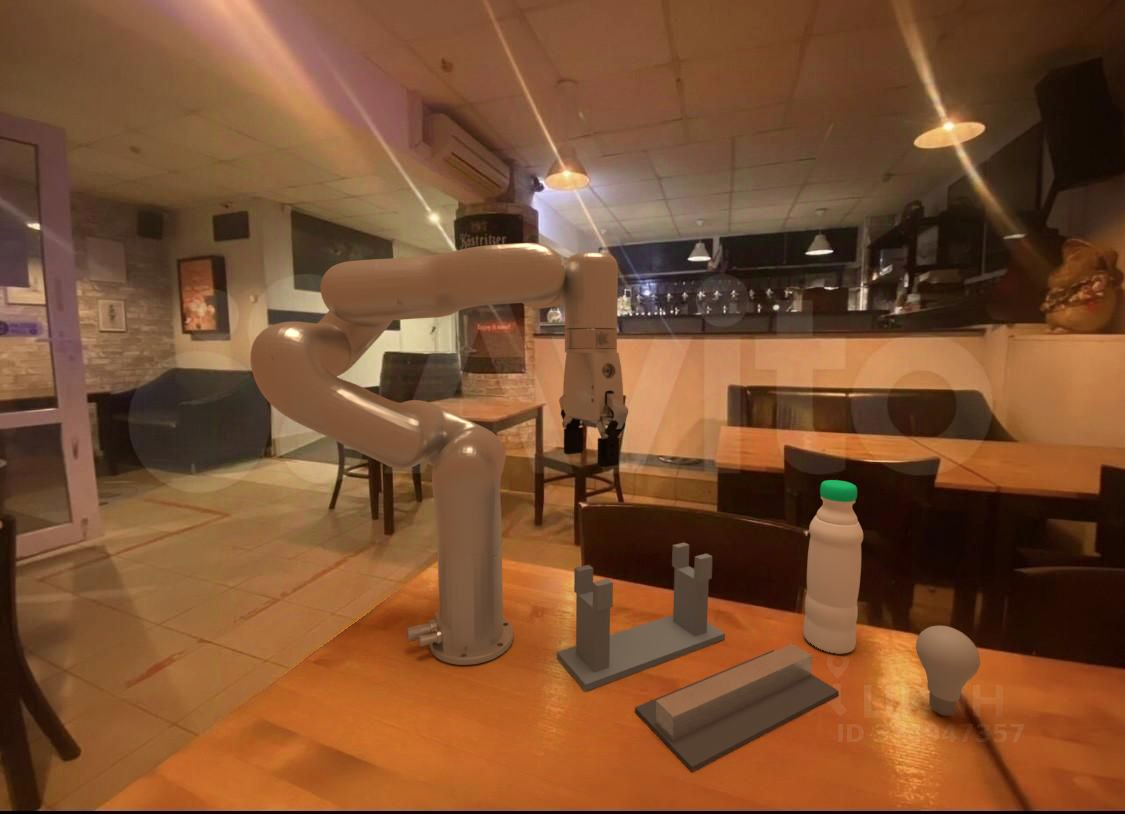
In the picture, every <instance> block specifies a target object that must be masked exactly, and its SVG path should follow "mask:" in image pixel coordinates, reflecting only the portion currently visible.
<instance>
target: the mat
mask: <svg viewBox="0 0 1125 814" xmlns="http://www.w3.org/2000/svg"><path fill="white" fill-rule="evenodd" d="M774 651H775V650H774V649H773V650H770V651H768V652H765V653H763V654H760V655H758V656H756V657H753V658H750V659H748V660H746V661H744V662H741V663H738V664H737V665H734V666H731V667H728V668H726V669H724V670H721V671H720V672H716V673H714V674H713V675H710V676H707V677H705V678H703V679H700V680H698V681H695V682H692V683H691V684H687V685H686V686H683V687H681V688H678V689H676V690H673V691H671V692H668V693H666V694H664V695H662V696H659V697H657V698H654V699H652V700H649V701H646V702H644V703H642V704H638V706H635V707H634V713H635V714H637V715H638V717H639V718H640V719H641V720H642V721H643V722H644V723H645V725H647V726H648V727H649V728H650V730H652V732H653V733H654V734H655V735H656V736H657V737H658V738H659V739H660V740H661V741H662V742H663V743H664V744H665V746H667V748H668V749H669V750H670V751H671V752H672V753H673V754H674V755H675V756H676V758H678V759H679V760H680V761H681V762H682V764H683V765H685V767H686V768H687V769H688V770H689V771H690V772H691V773H693V772H695V771H697V770H699V769H701V768H702V767H704V766H706V765H708V764H710V763H712V762H714V761H716V760H718V759H720V758H721V757H724V756H725V755H727V754H730V753H731V752H733V751H734V750H737V749H739V748H741V747H742V746H744V745H746V744H748V743H750V742H752V741H754V740H756V739H758V738H760V737H762V736H764V735H765V734H767V733H769V732H771V731H774V730H775V729H777V728H778V727H780V726H782V725H784V724H787V723H788V722H790V721H792V720H794V719H796V718H798V717H800V716H801V715H803V714H805V713H808V712H810V711H811V710H813V709H815V708H817V707H819V706H821V705H822V704H825V703H826V701H827V702H829V701H831V700H832V699H834V698H836V697H838V696H839V693H840V692H839V690H838V689H837V688H835V687H833V686H832V685H830V684H828V683H827V682H825V681H823V680H822V679H820V678H819V677H817V676H815V675H814V674H812V673H811V676H810V677H808V678H806V679H804V680H802V681H800V682H798V683H795V684H793V685H791V686H789V687H787V688H785V689H783V690H781V691H779V692H776V693H774V694H772V695H770V696H768V697H766V698H764V699H762V700H760V701H757V702H755V703H753V704H751V705H749V706H747V707H745V708H743V709H741V710H738V711H736V712H734V713H732V714H730V715H728V716H726V717H724V718H722V719H719V720H717V721H715V722H713V723H711V724H709V725H707V726H705V727H703V728H700V729H698V730H696V731H694V732H692V733H690V734H688V735H686V736H684V737H681V738H679V739H677V740H675V741H672V740H671V739H670V738H669V737H668V736H667V735H666V734H665V733H664V732H663V731H662V730H661V729H660V728H659V727H658V726H657V725H656V700H658V699H661V698H663V697H666V696H668V695H670V694H673V693H675V692H678V691H680V690H682V689H685V688H687V687H690V686H692V685H694V684H697V683H699V682H702V681H704V680H706V679H709V678H711V677H714V676H716V675H719V674H721V673H723V672H726V671H728V670H731V669H733V668H735V667H738V666H740V665H743V664H745V663H747V662H750V661H752V660H755V659H757V658H760V657H762V656H764V655H767V654H769V653H772V652H774ZM824 702H825V703H824ZM818 705H819V706H818ZM816 706H817V707H816ZM814 707H815V708H814ZM810 709H811V710H810Z"/></svg>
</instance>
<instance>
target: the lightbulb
mask: <svg viewBox="0 0 1125 814" xmlns="http://www.w3.org/2000/svg"><path fill="white" fill-rule="evenodd" d="M915 648H916V649H915V650H916V653H917V657H918V659H919V661H920V663H921V665H922V667H923V668H924V671H925V675H926V679H927V689H928V691H929V697H928V699H929V700H928V703H929V707H930V708H931V709H932V710H933V711H934V712H936V713H937V714H938V715H940V716H943V717H946V716H947V717H948V716H949V717H950V716H954V715H955V713H956V709H957V702H958V701H959V700H960V698H961V694H962V691H963V689H964V688H963V687H964V686H965V685H966V683H967V682H969V681H970V680H972V678H973V677H974V676H975V675H976V674H977V673H978V671H979V669H980V666H981V658H980V653H979V650H978V648H977V647H976V645H975V643H974V642H973V641H972V640H971V639H970V638H969V637H968V636H967V635H966V634H964V633H963V632H962V631H960V630H958V629H956V628H953V627H952V626H946V625H934V626H929V627H927V628H925V629H924V630H922V631H921V632H920V633H919V635H918V637H917V639H916V643H915Z"/></svg>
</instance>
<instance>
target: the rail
mask: <svg viewBox="0 0 1125 814" xmlns="http://www.w3.org/2000/svg"><path fill="white" fill-rule="evenodd" d="M812 658H813V655H812V654H811V653H809V652H807V651H806V650H804V649H803V648H800V647H798V646H797V645H795V644H793V643H791V644H789V645H787V646H784V647H781V648H779V649H776V650H774V652H772V653H769V654H767V655H764V656H762V657H760V658H757V659H755V660H752V661H750V662H747V663H745V664H743V665H740V666H738V667H735V668H733V669H731V670H728V671H726V672H723V673H721V674H719V675H716V676H714V677H711V678H709V679H706V680H704V681H702V682H699V683H697V684H694V685H692V686H690V687H687V688H685V689H682V690H680V691H678V692H675V693H673V694H670V695H668V696H666V697H663V698H661V699H658V700H656V725H657V726H658V727H659V728H660V729H661V730H662V731H663V732H664V733H665V734H666V735H667V736H668V737H669V738H670V739H671V740H672V741H675V740H677V739H679V738H681V737H684V736H686V735H688V734H690V733H692V732H694V731H696V730H698V729H700V728H703V727H705V726H707V725H709V724H711V723H713V722H715V721H717V720H719V719H722V718H724V717H726V716H728V715H730V714H732V713H734V712H736V711H738V710H741V709H743V708H745V707H747V706H749V705H751V704H753V703H755V702H757V701H760V700H762V699H764V698H766V697H768V696H770V695H772V694H774V693H776V692H779V691H781V690H783V689H785V688H787V687H789V686H791V685H793V684H795V683H798V682H800V681H802V680H804V679H806V678H808V677H810V676H811V674H812V662H813V661H812Z"/></svg>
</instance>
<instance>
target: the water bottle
mask: <svg viewBox="0 0 1125 814" xmlns="http://www.w3.org/2000/svg"><path fill="white" fill-rule="evenodd" d="M819 494H820V499H821V500H822V505H821V506H820V508H818V510H817V511H816V514H815V516H814V517H813V519H812V520H811V521H810V524H809V527H808V528H809V529H808V530H809V534H810V538H809V542H808V544H809V545H808V551H807V567H806V589H807V592H806V594H805V598H804V599H805V600H804V610H805V615H804V620H803V628H802V631H803V636H804V638H805V639H806V641H807V642H808V643H809V644H810V643H811V644H812V645H811V644H810V645H811V646H813V645H814V646H815V647H814V646H813V647H814V648H816V647H817V648H816V649H818V648H819V649H818V650H820V649H821V650H820V651H822V650H824V651H823V652H825V651H826V653H829V652H830V653H829V654H833V653H835V655H845V654H848V653H852V652H853V651H854V650H855V648H856V644H857V643H856V642H857V628H856V625H857V622H858V614H859V613H858V611H859V608H858V598H859V593H860V591H859V590H860V583H861V571H862V543H863V541H864V532H863V529H862V526H861V524H860V522H859V520H858V516H857V514H856V513H855V511H854V509H853V505H854V504H855V503H856V500H857V497H858V487H857V486H856V485H855V484H853V483H851V482H849V481H845V480H838V479H835V480H834V479H831V480H830V479H828V480H824V481H822V482H821V484H820V487H819ZM844 653H845V654H844Z"/></svg>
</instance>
